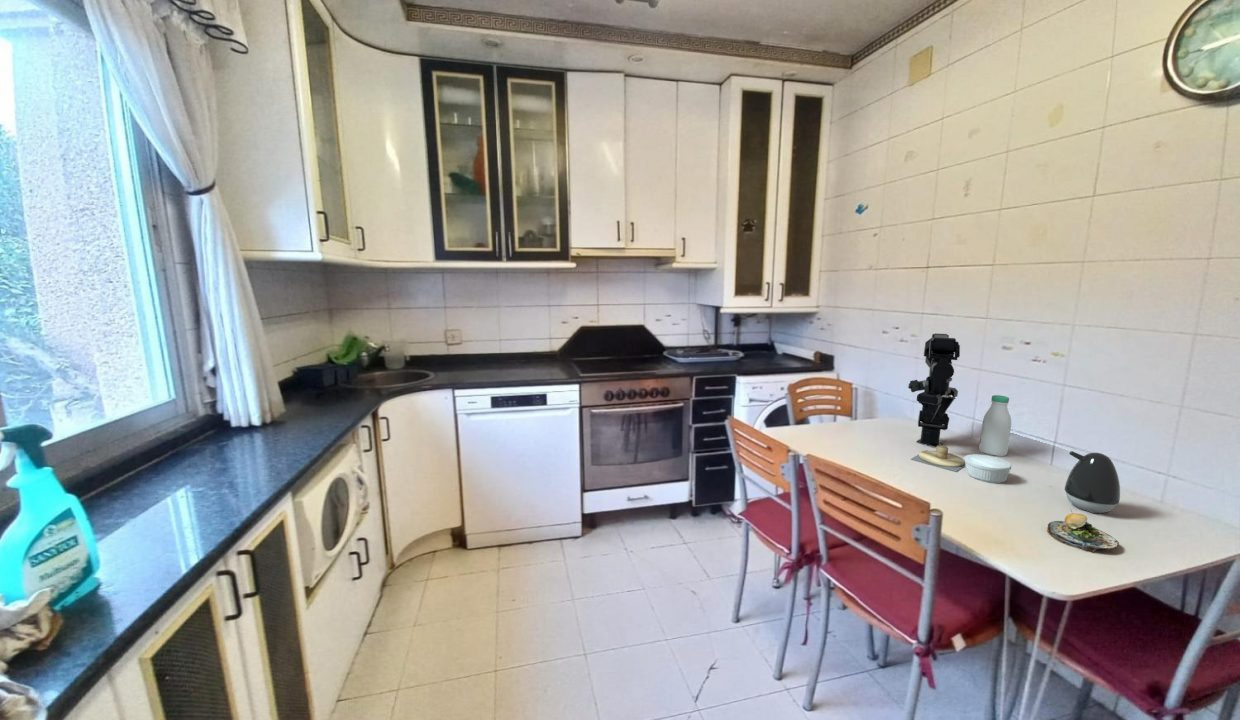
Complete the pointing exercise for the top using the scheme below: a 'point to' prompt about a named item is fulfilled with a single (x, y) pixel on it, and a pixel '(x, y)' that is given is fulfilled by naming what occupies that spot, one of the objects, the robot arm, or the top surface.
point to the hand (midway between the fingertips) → (934, 419)
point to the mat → (937, 465)
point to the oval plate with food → (1080, 534)
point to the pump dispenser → (1093, 483)
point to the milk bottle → (996, 428)
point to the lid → (941, 457)
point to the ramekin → (987, 468)
